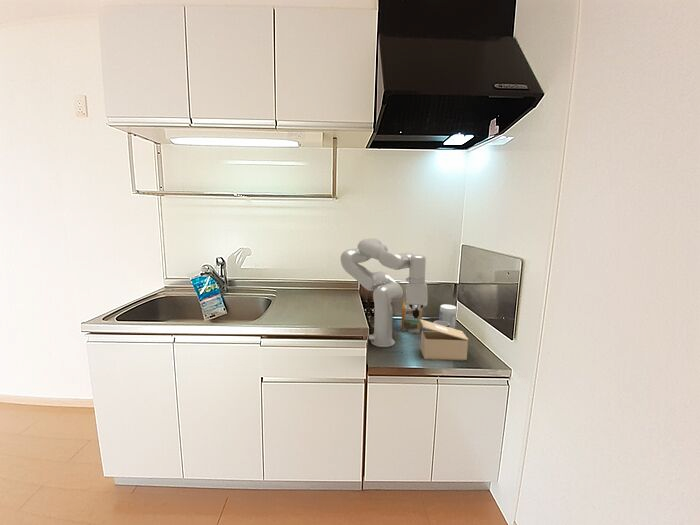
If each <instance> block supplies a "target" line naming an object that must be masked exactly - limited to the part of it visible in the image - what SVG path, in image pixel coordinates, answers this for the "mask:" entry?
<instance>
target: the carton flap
mask: <svg viewBox="0 0 700 525" xmlns="http://www.w3.org/2000/svg"><path fill="white" fill-rule="evenodd" d="M420 322H421V327H422V328H423V329H426V330H429V331H436V332H440V333H443V334H447V335H450V336H454V337H457V338H461V339H464V340H468V341H469V338H468V337H467V335H466V334H465V333H464V331H462V330H459V329H456V328H455V329H453V328H449V327H446V326H442V325H439V324H435V323H433V322H432V321H427V320H424V319H422V320H421V319H420Z"/></svg>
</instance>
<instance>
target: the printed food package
mask: <svg viewBox="0 0 700 525" xmlns="http://www.w3.org/2000/svg"><path fill="white" fill-rule="evenodd" d="M405 302H406V297H404V298H403V302H402V308H401V325H400V326H401V327H400V328H401V330H400V331H401V333H405V332H407V333H408V334H414V333H416V334H417V335H420V334H421V332H422V324H421V322H420V319H421V320H423V317H422V316H423V307H422V308H421V309H420V310H419V316H418V319H417V318H414V316H413V309H412V308H411V307H409V306H405ZM416 308H417V305H415V309H416ZM407 333H406V334H407Z"/></svg>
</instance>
